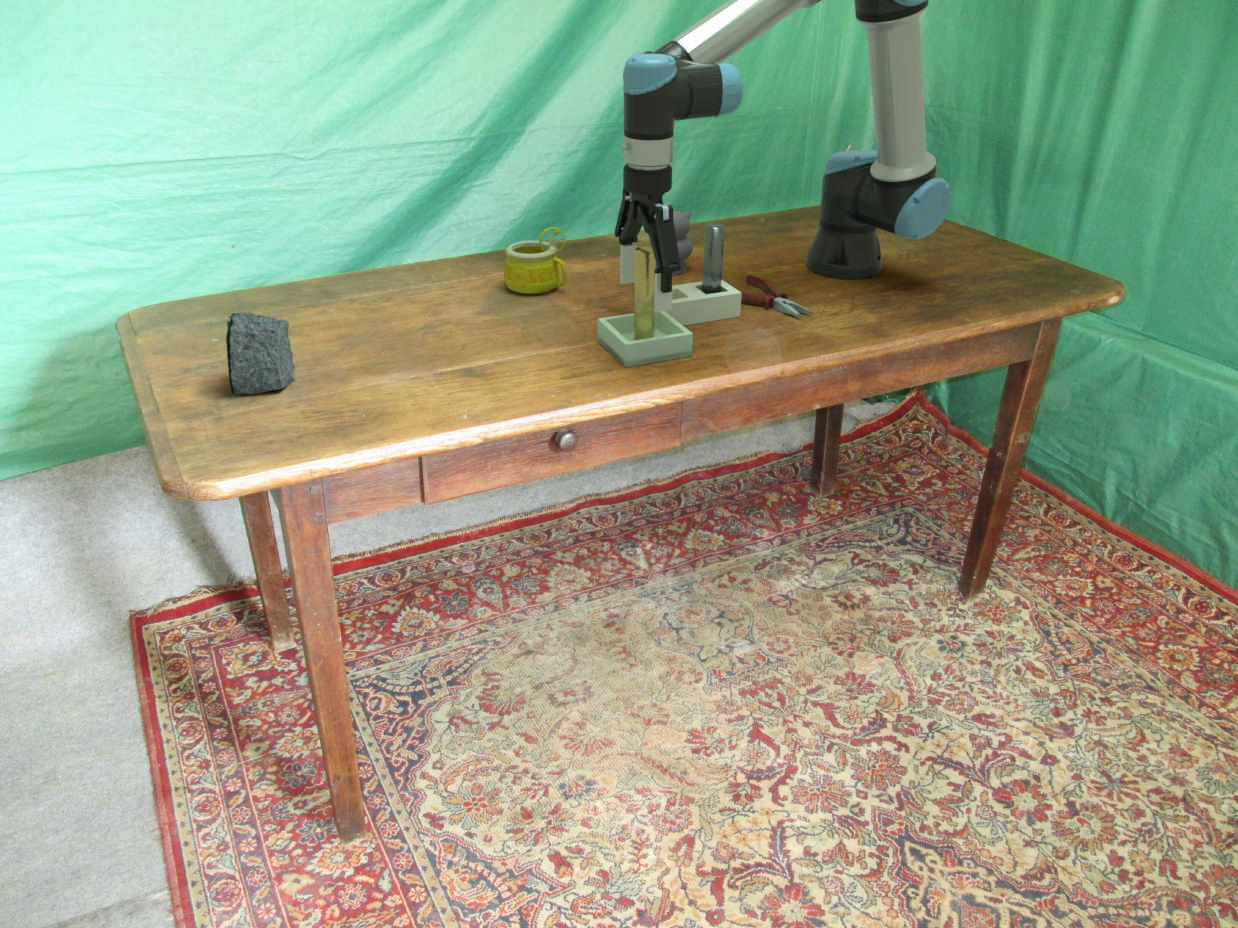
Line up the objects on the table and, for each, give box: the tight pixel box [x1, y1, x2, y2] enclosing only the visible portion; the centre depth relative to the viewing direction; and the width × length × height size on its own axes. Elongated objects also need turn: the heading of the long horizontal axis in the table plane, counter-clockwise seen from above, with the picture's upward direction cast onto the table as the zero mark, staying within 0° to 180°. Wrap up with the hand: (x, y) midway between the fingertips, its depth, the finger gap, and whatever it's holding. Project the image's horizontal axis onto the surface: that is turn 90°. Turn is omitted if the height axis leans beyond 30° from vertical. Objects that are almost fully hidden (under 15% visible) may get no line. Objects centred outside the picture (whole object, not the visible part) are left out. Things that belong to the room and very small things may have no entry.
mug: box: [503, 226, 568, 295], centre depth 188 cm, size 13×11×12 cm
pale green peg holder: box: [665, 278, 742, 327], centre depth 178 cm, size 16×8×4 cm, turn 113°
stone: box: [225, 312, 296, 396], centre depth 150 cm, size 12×10×10 cm
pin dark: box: [701, 222, 726, 294], centre depth 176 cm, size 3×3×16 cm
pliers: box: [739, 274, 814, 319], centre depth 184 cm, size 12×20×3 cm, turn 38°
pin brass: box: [633, 246, 656, 341], centre depth 161 cm, size 3×3×16 cm
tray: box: [597, 311, 694, 369], centre depth 165 cm, size 12×12×4 cm
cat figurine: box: [656, 210, 694, 276], centre depth 197 cm, size 8×8×12 cm
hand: (645, 296), depth 161 cm, fingers open, 13 cm apart
